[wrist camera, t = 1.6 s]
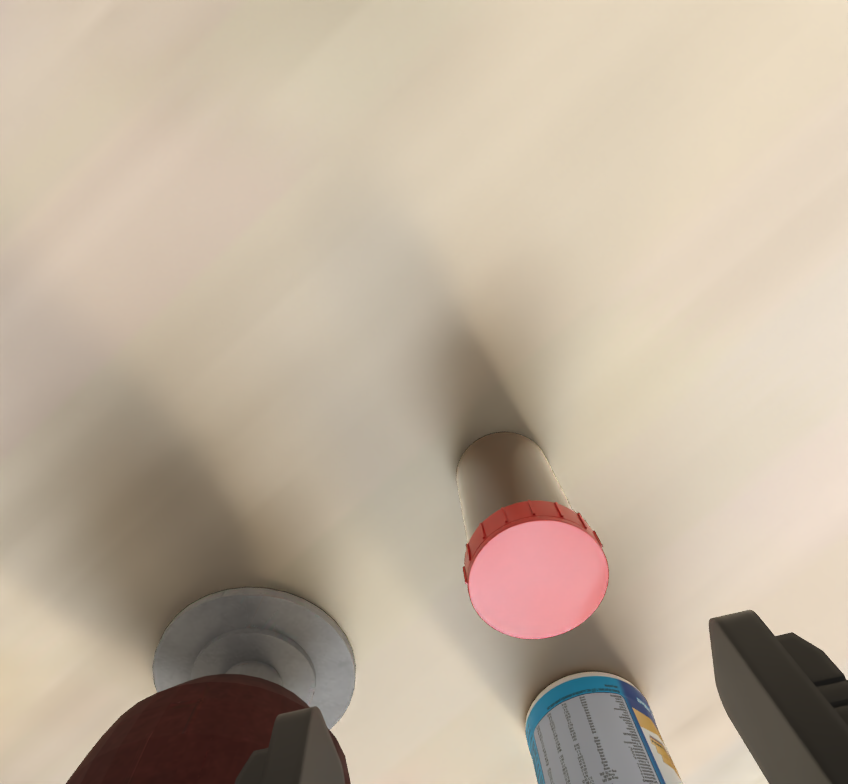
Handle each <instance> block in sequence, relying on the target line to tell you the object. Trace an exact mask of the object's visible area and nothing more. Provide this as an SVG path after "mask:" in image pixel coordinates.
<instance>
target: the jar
mask: <svg viewBox="0 0 848 784" xmlns="http://www.w3.org/2000/svg"><path fill="white" fill-rule="evenodd" d="M456 482H457V488H458V493H459V499H460V504H461V510H462V515H463V521H464V527H465V532H466V538H467V543H469V540H470V539H471V537H472V535H473V533H474V532H475V530H476V529H477V528H478V526H479V524H480V523H482V522H483V521H484V520H485V519H487V518H488V517H489V516H490V515H492V514H493V513H495V512H496V511H498V510H500V509H501V508H502V507H503V508H504V507H506V506H509V505H512V504H515V503H519V502H524V501H528V500H530V501H548V502H553V503H555V502H557V503H558V504H560V505H563V506H565V507H567V508H569V509H571V510H573V509H572V507H571V505H570V503H569V501H568V499H567V497H566V495H565V494H564V492H563V490H562V488H561V486H560V484H559V482H558V480H557V478H556V476H555V474H554V472H553V470H552V468H551V466H550V465H549V463H548V461H547V459H546V457H545V455H544V453H543V451H542V450H541V448H540V447H539V446H538V445H537V444H536V443H535V442H533V441H532V440H531V439H529V438H527V437H525V436H523V435H520V434H517V433H512V432H498V433H493V434H489V435H486V436H484V437H482V438H480V439H478V440H477V441H475V442H474V443H473V444H471V445H470V446H469V447H468V448H467V449H466V450H465V452H464V453H463V455H462V456H461V458H460V460H459V463H458V466H457V471H456Z"/></svg>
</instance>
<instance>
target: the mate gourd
mask: <svg viewBox="0 0 848 784" xmlns="http://www.w3.org/2000/svg"><path fill="white" fill-rule="evenodd" d="M355 669H356V665H355V660H354V655H353V650H352V648H351V646H350V644H349V641H348V639H347V637H346V635H345V634H344V632H343V631H342V630H341V628H340V627H339V626H338V624H337V623H336V622H335V621H334V620H333V619H332V618H331V617H330V616H328V615H327V614H326V613H325V612H324V611H323V610H322V609H320V608H318V607H317V606H315V605H313V604H312V603H310V602H308V601H307V600H305V599H302V598H300V597H297V596H295V595H292V594H289V593H287V592H282V591H277V590H273V589H268V588H250V587H244V588H236V589H228V590H223V591H220V592H217V593H214V594H210V595H207V596H205V597H203V598H201V599H199V600H197V601H196V602H194V603H192V604H190V605H189V606H187V607H186V608H185V609H184V610H183V611H181V612H180V613H179V614H178V615H176V617H175V618H174V619H173V621H172V622H171V623H170V624H169V626H168V627H167V628H166V630H165V632H164V634H163V635H162V638H161V640H160V642H159V644H158V646H157V649H156V651H155V656H154V662H153V677H154V684H155V687H156V690H157V693H156V694H154V695H152V696H150V697H148V698H146V699H144V700H142V701H140V702H138V703H137V704H136V705H134V706H133V707H132V708H130V709H129V710H128V711H127V712H125V713H124V714H123V715H122V716H120V718H119V719H118V720H117V721H116V722H115V723H114V724H113V725H112V726H111V727H110V728H109V729H108V731H107V732H106V733H105V734H104V735H103V736H102V737H101V738H100V740H99V741H98V742H97V743H96V745H95V746H94V747H93V748H92V750H91V751H90V752H89V753H88V755H87V756H86V757H85V759H84V760H83V761H82V763H81V764H80V765H79V767H78V768H77V769H76V771H75V772H74V773H73V775H72V776H71V777H70V779H69V780H68V781H67V783H66V784H235V781H236V778H237V776H238V775H239V773H240V772H241V770H242V768H243V767H244V765H245V764H246V762H247V761H248V759H249V757H250V756H251V754H252V753H253V751H256V750H260V749H265V748H268V747H269V743H270V739H271V735H272V730H273V726H274V722H275V719H276V717H277V716H278V715H279V714H283V713H288V712H292V711H296V710H301V709H305V708H310V707H314V706H317V707H318V708H319V709H320V711H321V713H322V715H323V718H324V721H325V723H326V726H327V728H328V731H329V733H330V736H331V738H332V741H333V743H334V746H335V748H336V751H337V753H338V756H339V758H340V761H341V764H342V768H343V772H344V779H345V784H351V783H350V778H349V773H348V768H347V764H346V759H345V755H344V753H343V751H342V749H341V747H340V745H339V743H338V741H337V739H336V738H335V736H334V735H333V734H332V733H331V731H330V729H331V728H332V727H333V726H334V725H335V724H336V723H337V722H338V721H339V720H340V718H341V717H342V716H343V714H344V712H345V711H346V709H347V707H348V706H349V704H350V701H351V698H352V694H353V691H354V686H355Z"/></svg>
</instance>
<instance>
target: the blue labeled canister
mask: <svg viewBox="0 0 848 784" xmlns="http://www.w3.org/2000/svg"><path fill="white" fill-rule="evenodd" d="M525 731H526V738H527V742H528V747H529V750H530V753H531V756H532V759H533V764H534V768H535V772H536V777H537V781H538V784H683V783H682V781H681V778H680V776H679V774H678V772H677V770H676V768H675V766H674V764H673V761H672V759H671V757H670V755H669V753H668V751H667V749H666V746H665V744H664V742H663V740H662V738H661V735H660V733H659V731H658V728H657V726H656V723H655V719H654V716H653V714H652V711H651V709H650V707H649V705H648V703H647V701H646V699H645V697H644V696H643V694H642V693H641V692H640V691H639V690H638V689H637V688H636V687H635V686H634V685H633V684H632V683H630V682H629V681H627V680H625V679H623V678H621V677H619V676H616V675H613V674H609V673H604V672H583V673H577V674H573V675H569V676H566V677H564V678H562V679H559V680H557V681H556V682H554V683H552V684H551V685H549V686H548V687H547V688H545V689H544V690H543V691H542V692H541V693H540V694H539V695H538V696H537V697H536V699H535V700H534V702H533V703H532V705H531V707H530V709H529V711H528V714H527V718H526V725H525Z"/></svg>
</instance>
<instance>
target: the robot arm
mask: <svg viewBox="0 0 848 784" xmlns="http://www.w3.org/2000/svg"><path fill="white" fill-rule="evenodd" d="M709 632H710V640H711V649H712V657H713V665H714V674H715V681H716V686H717V690H718V693H719V696H720V699H721V701H722V704H723V706H724V708H725V710H726V712H727V714H728V716H729V718H730V720H731V721H732V723H733V725H734V726H735V728H736V730H737V731H738V733H739V734H740V736H741V738H742V739H743V741H744V743H745V744H746V746H747V748H748V749H749V751H750V753H751V754H752V756H753V758H754V759H755V761H756V762H757V764H758V766H759V767H760V769H761V771H762V772H763V774H764V776H765V777H766V779H767V781H768V782H769V784H848V680H846V678H845V676H844V674H843V673H842V672H841V671H840V670H839V669H838V668H837V666H836V665H835V664H834V663H833V662H832V661H831V660H830V659H829V657H828V656H827V655H826V654H825V653H824V652H823V651H822V650H820V649H819V648H817V647H815V646H814V645H812V644H811V643H809V642H807V641H806V640H804V639H802V638H801V637H799V636H797V635H796V634H794V633H788V634H784V635H779V636H774V635H773V633H772V632H771V631H770V630H769V628H768V627H767V626H766V625H765V623H764V622H763V621H762V620H761V619H760V617H759V616H758V615H757V614H756V613H755V612H754V611H752V610H747V611H742V612H738V613H734V614H729V615H725V616H720V617H716V618H711V619H710V620H709ZM235 784H345V779H344V772H343V768H342V764H341V761H340V758H339V756H338V753H337V751H336V748H335V746H334V743H333V741H332V738H331V736H330V733H329V731H328V728H327V726H326V723H325V721H324V718H323V715H322V713H321V711H320V709H319V708H318V707H317V706H314V707H310V708H305V709H301V710H296V711H292V712H288V713H283V714H279V715H278V716H277V717H276V719H275V722H274V726H273V730H272V735H271V739H270V743H269V747H268V748H265V749H260V750H256V751H253V753H252V754H251V756H250V757H249V759H248V761H247V762H246V764H245V765H244V767H243V768H242V770H241V772H240V773H239V775H238V776H237V778H236V781H235Z"/></svg>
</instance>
